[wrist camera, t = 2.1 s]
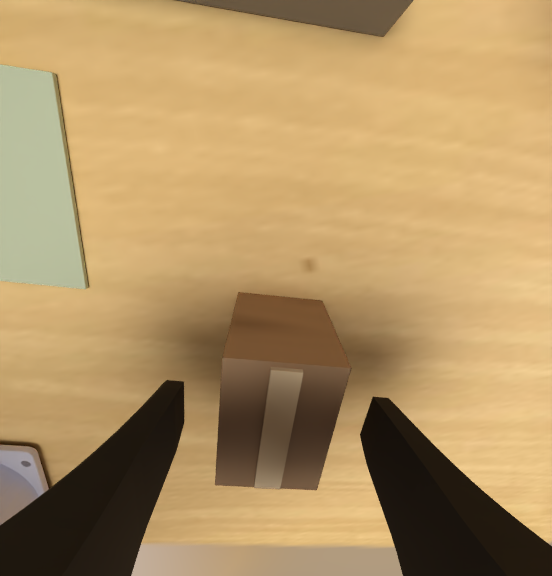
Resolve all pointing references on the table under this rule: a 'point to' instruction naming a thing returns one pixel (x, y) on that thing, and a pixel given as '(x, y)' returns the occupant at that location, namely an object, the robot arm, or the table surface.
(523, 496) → the table surface
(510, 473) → the table surface
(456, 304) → the table surface
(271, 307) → the brown cardboard box
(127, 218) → the table surface
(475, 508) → the robot arm
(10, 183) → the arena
